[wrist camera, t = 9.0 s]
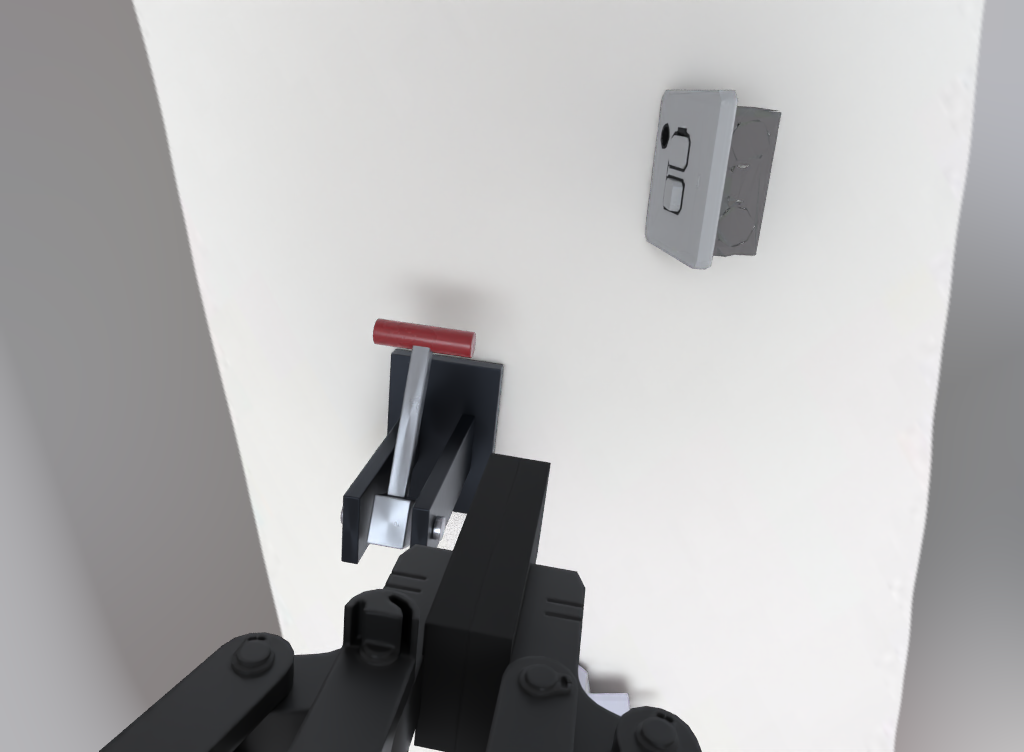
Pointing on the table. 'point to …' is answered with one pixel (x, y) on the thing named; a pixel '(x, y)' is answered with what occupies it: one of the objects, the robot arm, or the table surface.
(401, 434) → the lever
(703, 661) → the table surface
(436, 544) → the bracket
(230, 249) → the table surface
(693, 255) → the electrical switch
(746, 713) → the table surface
